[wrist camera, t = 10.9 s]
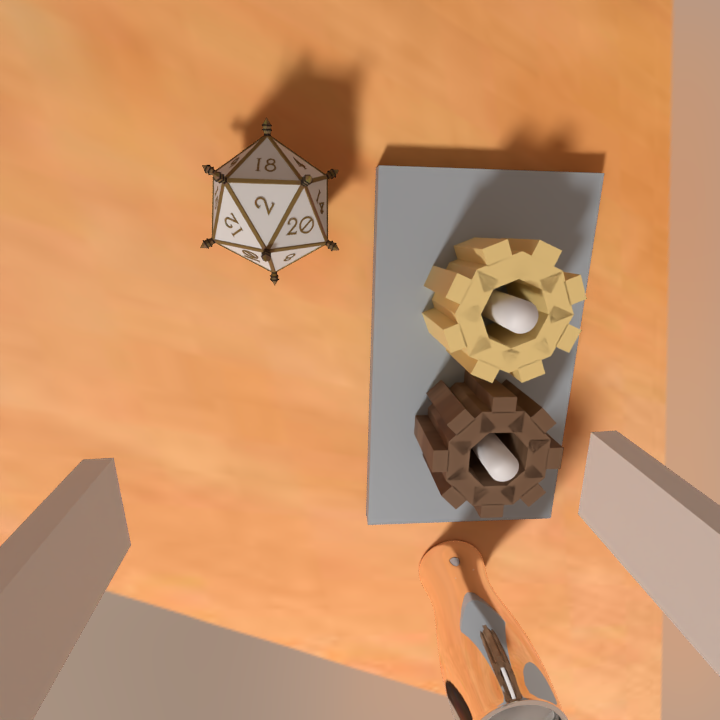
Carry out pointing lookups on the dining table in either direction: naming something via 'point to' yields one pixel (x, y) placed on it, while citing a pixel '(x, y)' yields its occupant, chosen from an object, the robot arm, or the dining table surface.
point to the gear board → (429, 357)
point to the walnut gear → (469, 426)
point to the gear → (523, 280)
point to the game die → (269, 205)
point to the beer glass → (482, 643)
